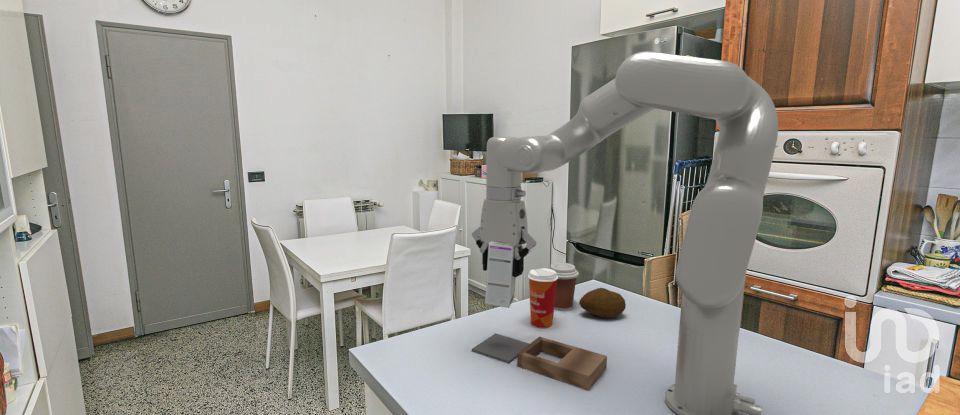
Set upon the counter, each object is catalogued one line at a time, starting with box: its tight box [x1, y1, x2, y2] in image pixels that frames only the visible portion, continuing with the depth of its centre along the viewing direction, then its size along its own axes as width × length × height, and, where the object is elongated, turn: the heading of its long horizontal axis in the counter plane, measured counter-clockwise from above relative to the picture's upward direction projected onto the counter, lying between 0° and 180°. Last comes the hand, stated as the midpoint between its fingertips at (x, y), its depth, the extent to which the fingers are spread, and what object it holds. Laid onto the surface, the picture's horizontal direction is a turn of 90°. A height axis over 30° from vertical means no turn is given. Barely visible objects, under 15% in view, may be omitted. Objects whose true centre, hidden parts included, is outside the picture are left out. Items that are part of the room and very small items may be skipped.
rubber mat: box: [471, 332, 531, 364], centre depth 107 cm, size 10×10×1 cm
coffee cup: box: [548, 262, 580, 312], centre depth 132 cm, size 9×9×12 cm
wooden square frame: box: [516, 336, 608, 391], centre depth 98 cm, size 16×10×3 cm, turn 55°
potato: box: [578, 287, 627, 319], centre depth 126 cm, size 8×12×8 cm, turn 96°
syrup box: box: [484, 241, 517, 309], centre depth 104 cm, size 6×6×14 cm
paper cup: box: [527, 267, 558, 329], centre depth 120 cm, size 8×8×14 cm
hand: (502, 271), depth 104 cm, fingers closed on syrup box, 7 cm apart
